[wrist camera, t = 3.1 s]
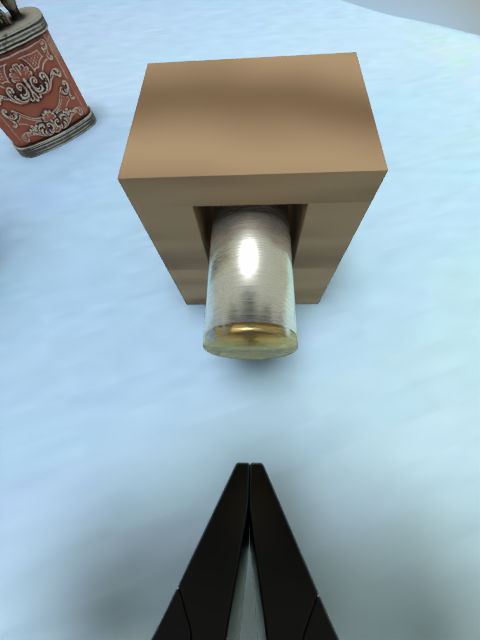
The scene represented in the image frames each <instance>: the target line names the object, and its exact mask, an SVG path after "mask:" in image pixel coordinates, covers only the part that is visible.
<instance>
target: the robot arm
mask: <svg viewBox="0 0 480 640" xmlns="http://www.w3.org/2000/svg"><path fill="white" fill-rule="evenodd" d="M249 531H250V555H251V566H252V577H253V589H254V600H255V611H256V622H257V633H258V640H339V638H338V636H337V634H336V632H335V630H334V627H333V625H332V623H331V621H330V619H329V616H328V614H327V612H326V609H325V607H324V605H323V602H322V600H321V598H320V597H319V596H318V591H317V589H316V586H315V584H314V582H313V579H312V577H311V575H310V572H309V570H308V568H307V565H306V563H305V561H304V558H303V556H302V554H301V551H300V549H299V547H298V544H297V542H296V540H295V537H294V535H293V533H292V530H291V528H290V526H289V523H288V521H287V519H286V516H285V514H284V512H283V509H282V507H281V504H280V502H279V500H278V497H277V495H276V493H275V490H274V488H273V486H272V483H271V481H270V479H269V476H268V474H267V472H266V469H265V467H264V465H263V464H262V463H251V464H250V465H249V463H240V462H239V463H237V464H236V465H235V467H234V469H233V471H232V474H231V476H230V478H229V480H228V482H227V484H226V486H225V488H224V490H223V492H222V495H221V497H220V499H219V501H218V503H217V505H216V507H215V509H214V511H213V514H212V516H211V518H210V520H209V522H208V524H207V526H206V528H205V530H204V532H203V535H202V537H201V539H200V541H199V543H198V545H197V547H196V549H195V551H194V553H193V556H192V558H191V560H190V562H189V564H188V566H187V568H186V570H185V572H184V574H183V577H182V579H181V581H180V583H179V585H178V588H179V589H176V591H175V593H174V595H173V597H172V599H171V601H170V603H169V606H168V608H167V610H166V612H165V614H164V616H163V618H162V620H161V622H160V624H159V626H158V628H157V629H156V631H155V633H154V635H153V637H152V639H151V640H239V636H240V627H241V618H242V608H243V599H244V590H245V581H246V571H247V562H248V552H249Z"/></svg>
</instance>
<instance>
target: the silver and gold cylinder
mask: <svg viewBox="0 0 480 640" xmlns="http://www.w3.org/2000/svg"><path fill="white" fill-rule="evenodd" d="M203 348H204V349H205V350H206V351H207V352H209V353H211V354H214V355H217V356H221V357H226V358H233V359H249V360H254V359H270V358H277V357H282V356H285V355H288V354H291V353H293V352H294V351H296V350H297V348H298V343H297V328H296V313H295V298H294V283H293V268H292V253H291V238H290V223H289V208H288V204H271V205H231V206H213V217H212V231H211V245H210V258H209V272H208V286H207V300H206V313H205V327H204V341H203Z"/></svg>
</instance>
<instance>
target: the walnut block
mask: <svg viewBox="0 0 480 640" xmlns="http://www.w3.org/2000/svg"><path fill="white" fill-rule="evenodd" d="M387 171H388V168H387V165H386V161H385V157H384V154H383V150H382V146H381V143H380V139H379V135H378V131H377V128H376V124H375V120H374V117H373V113H372V109H371V106H370V102H369V98H368V94H367V91H366V87H365V83H364V80H363V76H362V72H361V69H360V65H359V61H358V57H357V54H356V52H353V53H335V54H316V55H298V56H279V57H261V58H242V59H224V60H205V61H186V62H168V63H149V64H148V65H147V69H146V73H145V77H144V80H143V84H142V88H141V92H140V96H139V99H138V103H137V107H136V111H135V114H134V118H133V122H132V126H131V130H130V133H129V137H128V141H127V145H126V149H125V152H124V156H123V160H122V164H121V167H120V171H119V175H118V180H119V182H120V184H121V186H122V188H123V189H124V191H125V193H126V195H127V197H128V199H129V200H130V202H131V204H132V206H133V208H134V209H135V211H136V213H137V215H138V217H139V218H140V220H141V222H142V224H143V226H144V228H145V229H146V231H147V233H148V235H149V237H150V238H151V240H152V242H153V244H154V246H155V248H156V249H157V251H158V253H159V255H160V257H161V258H162V260H163V262H164V264H165V266H166V267H167V269H168V271H169V273H170V275H171V277H172V278H173V280H174V282H175V284H176V286H177V287H178V289H179V291H180V293H181V295H182V296H183V298H184V300H185V302H186V304H206V300H207V286H208V272H209V258H210V245H211V231H212V217H213V206H231V205H271V204H288V208H289V223H290V238H291V253H292V268H293V283H294V298H295V304H318V303H319V301H320V299H321V297H322V295H323V293H324V291H325V289H326V288H327V286H328V284H329V282H330V280H331V278H332V276H333V274H334V272H335V270H336V268H337V267H338V265H339V263H340V261H341V259H342V257H343V255H344V253H345V251H346V249H347V248H348V246H349V244H350V242H351V240H352V238H353V236H354V234H355V232H356V230H357V228H358V227H359V225H360V223H361V221H362V219H363V217H364V215H365V213H366V211H367V209H368V208H369V206H370V204H371V202H372V200H373V198H374V196H375V194H376V192H377V190H378V188H379V187H380V185H381V183H382V181H383V179H384V177H385V175H386V173H387Z"/></svg>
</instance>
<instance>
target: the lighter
mask: <svg viewBox="0 0 480 640" xmlns="http://www.w3.org/2000/svg"><path fill="white" fill-rule="evenodd" d="M0 1H1V3H2V4H3V5H4V7H5V8H6V9H7V10H8V11H9V12H7V13H4V12H3V11H2V10H1V9H0V128H1V129H2V130H3V131H4V133H5V134H6V135H7V136H8V137H9V138H10V140H11V141H12V144H13V146H14V147H15V148H16V150H17V151H18V152H19V153H20V154H21V155H22V156H23V157H26V158H32V157H36V156H38V155H41V154H43V153H46V152H49V151H51V150H53V149H55V148H57V147H59V146H62V145H64V144H66V143H68V142H69V141H71V140H73V139H74V138H76V137H78V136H79V135H81V134H82V133H84V132H85V131H87V130H88V129H90V128H91V127H92V126H93V125H95V123H96V118H95V116H94V114H93V112H92V110H91V108H90V107H89V106H87V104H86V102H85V100H84V99H83V97H82V95H81V93H80V91H79V89H78V87H77V85H76V83H75V81H74V79H73V77H72V76H71V74H70V72H69V70H68V68H67V66H66V64H65V62H64V60H63V58H62V56H61V54H60V52H59V51H58V49H57V47H56V45H55V43H54V41H53V39H52V37H51V35H50V33H49V31H48V29H47V28H48V25H47V23H46V21H45V19H44V17H43V15H42V13H41V11H40V10H39V9H38V8H36V7H24V8H20V9H18V8H17V5H16V2H15V0H0Z"/></svg>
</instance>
